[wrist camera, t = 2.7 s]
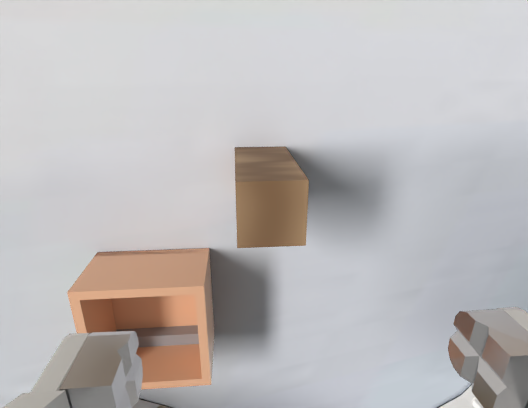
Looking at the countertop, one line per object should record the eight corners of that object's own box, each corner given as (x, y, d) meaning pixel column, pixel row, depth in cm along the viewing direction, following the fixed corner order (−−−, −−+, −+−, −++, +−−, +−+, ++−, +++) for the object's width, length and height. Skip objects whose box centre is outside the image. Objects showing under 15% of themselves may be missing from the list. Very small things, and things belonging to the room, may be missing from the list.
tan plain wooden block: (285, 146, 24) (308, 180, 17) (284, 194, 25) (305, 245, 18) (234, 147, 24) (235, 181, 16) (236, 195, 25) (237, 248, 18)
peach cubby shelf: (209, 248, 26) (204, 286, 22) (214, 334, 29) (210, 384, 25) (97, 252, 26) (67, 292, 21) (114, 340, 29) (91, 392, 24)
